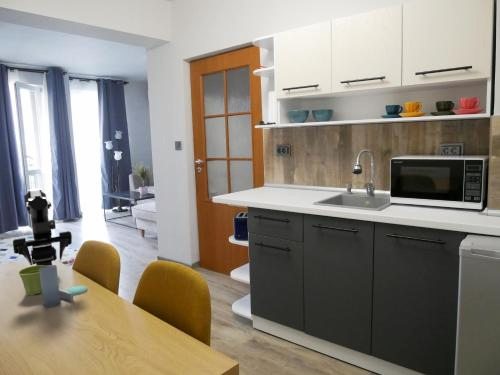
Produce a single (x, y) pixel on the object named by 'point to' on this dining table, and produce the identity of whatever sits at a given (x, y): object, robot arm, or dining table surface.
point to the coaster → (77, 290)
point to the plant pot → (31, 279)
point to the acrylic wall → (66, 295)
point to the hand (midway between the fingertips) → (46, 261)
